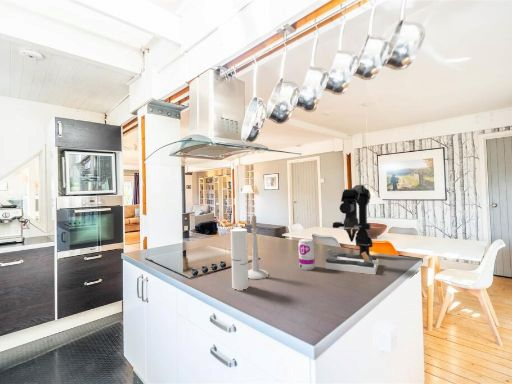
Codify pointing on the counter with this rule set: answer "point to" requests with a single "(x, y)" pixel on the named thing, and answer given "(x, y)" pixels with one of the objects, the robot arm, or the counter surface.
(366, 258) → the orange brick
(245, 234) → the cylindrical container
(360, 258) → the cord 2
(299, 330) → the counter surface
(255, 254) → the candlestick
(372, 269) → the white tray
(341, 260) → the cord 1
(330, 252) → the paddle grey
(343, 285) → the counter surface
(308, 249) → the supplement can
